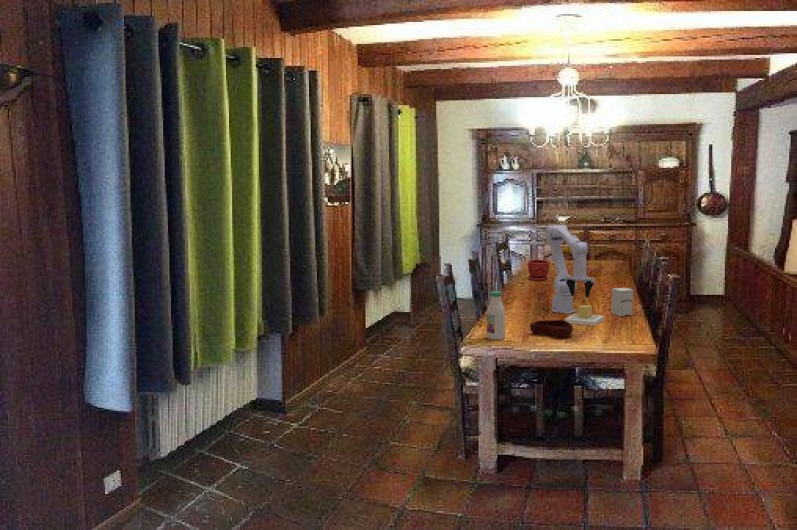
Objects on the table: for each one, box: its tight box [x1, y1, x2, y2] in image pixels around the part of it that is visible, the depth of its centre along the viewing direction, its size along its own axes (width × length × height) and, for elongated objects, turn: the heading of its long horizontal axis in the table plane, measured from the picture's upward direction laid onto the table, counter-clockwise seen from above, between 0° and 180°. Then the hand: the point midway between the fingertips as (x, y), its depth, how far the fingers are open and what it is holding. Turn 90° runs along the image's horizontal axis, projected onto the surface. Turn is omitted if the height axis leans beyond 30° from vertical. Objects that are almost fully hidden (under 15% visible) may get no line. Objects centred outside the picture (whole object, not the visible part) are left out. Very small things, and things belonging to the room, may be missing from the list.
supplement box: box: [610, 287, 634, 317], centre depth 346 cm, size 7×7×13 cm
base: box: [564, 312, 605, 327], centre depth 334 cm, size 14×14×2 cm
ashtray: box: [529, 319, 574, 339], centre depth 312 cm, size 18×16×5 cm
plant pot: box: [527, 259, 550, 282], centre depth 453 cm, size 13×13×12 cm
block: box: [577, 304, 593, 319], centre depth 333 cm, size 5×5×5 cm
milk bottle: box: [486, 290, 506, 341], centre depth 306 cm, size 8×8×20 cm
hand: (579, 296), depth 340 cm, fingers open, 7 cm apart
